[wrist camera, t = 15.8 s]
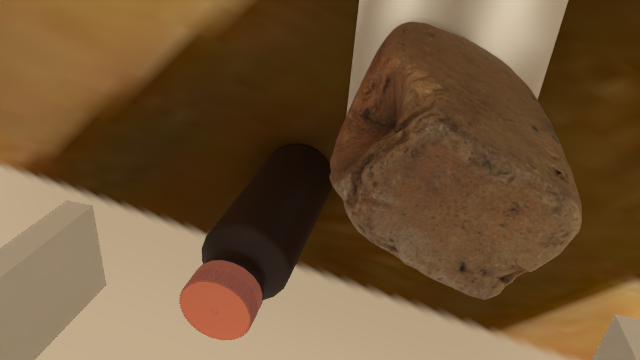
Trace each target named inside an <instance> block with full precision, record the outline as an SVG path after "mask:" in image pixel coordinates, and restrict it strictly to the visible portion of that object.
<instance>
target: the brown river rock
mask: <svg viewBox="0 0 640 360" xmlns="http://www.w3.org/2000/svg"><path fill="white" fill-rule="evenodd" d="M330 168H331V173H330V176H329V178H330V181H331V183H332V186H333V188H334V189H335V190H336V192H337V193H338V194H339V196H340V197H341V198H342V199H343V201H344V208H345V211H346V213H347V215H348V217H349V218H350V220H351V222H352V224H353V225H354V227H355V228H356V229H357V230H358V232H359V233H361V234H362V235H363V236H364V237H366V238H367V239H368V240H370V241H371V242H372V243H374V244H376V245H377V246H379V247H381V248H382V249H384V250H386V251H388V252H390V253H391V254H393V255H395V256H396V257H398V258H399V259H401V260H402V261H403V262H404V263H405V264H406V265H409V266H411V267H413V268H415V269H417V270H418V271H420V272H421V273H422V274H424V275H426V276H428V277H430V278H432V279H433V280H436V281H438V282H440V283H443V284H445V285H447V286H450V287H452V288H454V289H456V290H458V291H461V292H463V293H465V294H467V295H470V296H473V297H477V298H480V299H483V300H486V299H489V298H492V297H494V296H496V295H498V294H499V293H500V292H501V291H502V290H503V289H504V288H505V286H507V285H508V284H510V283H511V282H513V280H514V279H515V278H516V277H517V276H519V275H521V274H523V273H525V272H527V271H529V272H531V271H533V270H535V269H537V268H539V267H540V266H542V265H543V264H545V263H547V262H548V261H550V260H551V259H553V258H555V257H556V256H558V255H559V254H560V253H561V252H562V251H563V250H564V248H565V247H566V246H567V245H568V244H569V243H570V241H571V240H572V239H573V238H574V237H575V235H576V234H577V233H578V232H579V230H580V226H581V222H582V207H581V202H580V198H579V194H578V191H577V188H576V184H575V181H574V178H573V174H572V170H571V168H570V166H569V164H568V162H567V160H566V157H565V154H564V151H563V149H562V147H561V145H560V142H559V139H558V137H557V135H556V133H555V132H554V130H553V127H552V124H551V122H550V120H549V119H548V117H547V116H546V114H545V112H544V110H543V108H542V107H541V105H540V104H539V102H538V100H537V98H536V97H535V95H534V93H533V92H532V90H531V89H530V88H529V87H528V85H527V84H526V83H525V82H524V81H523V80H522V79H521V78H520V77H519V76H518V75H517V74H516V73H515V72H514V71H513V70H512V69H511V67H509V66H508V65H507V64H505V63H504V62H503V61H502V60H500V59H499V58H497V57H496V56H494V55H493V54H491V53H490V52H488V51H487V50H485V49H483V48H481V47H480V46H478V45H477V44H475V43H473V42H471V41H469V40H467V39H466V38H464V37H462V36H458V35H456V34H452V33H450V32H447V31H445V30H442V29H439V28H436V27H433V26H431V25H430V24H426V23H419V22H407V23H403V24H401V25H399V26H397V27H396V28H395V29H394V30H393V31H392V32H391V33H390V34H389V35H388V36H387V37H386V39H385V40H384V42H383V43H382V44H381V46H380V47H379V49H378V51H377V52H376V54H375V56H374V58H373V60H372V62H371V64H370V66H369V68H368V70H367V72H366V74H365V76H364V78H363V80H362V82H361V84H360V87H359V89H358V91H357V93H356V95H355V97H354V99H353V102H352V104H351V107H350V108H349V111H348V113H347V116H346V118H345V121H344V123H343V125H342V127H341V129H340V132H339V135H338V137H337V140H336V143H335V147H334V151H333V154H332V157H331V160H330Z"/></svg>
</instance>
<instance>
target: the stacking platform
mask: <svg viewBox="0 0 640 360" xmlns="http://www.w3.org/2000/svg"><path fill="white" fill-rule="evenodd" d="M567 3H568V0H359V8H358V17H357V26H356V34H355V43H354V52H353V61H352V70H351V79H350V88H349V97H348V106H347V113H348V111H349V108H350V107H351V104H352V102H353V99H354V97H355V95H356V93H357V91H358V89H359V87H360V84H361V82H362V80H363V78H364V76H365V74H366V72H367V70H368V68H369V66H370V64H371V62H372V60H373V58H374V56H375V54H376V52H377V51H378V49H379V47H380V46H381V44H382V43H383V42H384V40H385V39H386V37H387V36H388V35H389V34H390V33H391V32H392V31H393V30H394V29H395V28H396V27H397V26H399V25H401V24H403V23H407V22H419V23H426V24H430V25H431V26H433V27H436V28H439V29H442V30H445V31H447V32H450V33H452V34H456V35H458V36H462V37H464V38H466V39H467V40H469V41H471V42H473V43H475V44H477V45H478V46H480V47H481V48H483V49H485V50H487V51H488V52H490V53H491V54H493V55H494V56H496V57H497V58H499V59H500V60H502V61H503V62H504V63H505V64H507V65H508V66H509V67H511V69H512V70H513V71H514V72H515V73H516V74H517V75H518V76H519V77H520V78H521V79H522V80H523V81H524V82H525V83H526V84H527V85H528V87H529V88H530V89H531V90H532V92H533V93H534V95H535V97H536V98H537V99H538V96H539V93H540V90H541V86H542V83H543V80H544V77H545V74H546V70H547V67H548V64H549V61H550V58H551V54H552V51H553V48H554V45H555V42H556V38H557V35H558V32H559V29H560V26H561V22H562V19H563V16H564V13H565V9H566V6H567ZM346 116H347V114H346Z"/></svg>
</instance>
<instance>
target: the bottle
mask: <svg viewBox="0 0 640 360" xmlns="http://www.w3.org/2000/svg"><path fill="white" fill-rule="evenodd" d="M330 173H331V168H330V166H329V164H328V163H327V161H326V159H325V158H324V157H323V156H322V155H321V154H320V153H319V152H318V151H316V150H314V149H312V148H310V147H308V146H304V145H298V144H295V145H287V146H284V147H282V148H280V149H278V150H277V151H276V152H275V153H274V154H273V155H272V156H271V157H270V158H269V160H268V161H267V162H266V163H265V164H264V166H263V167H262V168H261V169H260V171H259V172H258V173H257V174H256V176H255V177H254V178H253V179H252V181H251V182H250V183H249V184H248V185H247V187H246V188H245V189H244V190H243V192H242V193H241V194H240V195H239V197H238V198H237V199H236V200H235V201H234V203H233V204H232V205H231V206H230V208H229V209H228V210H227V211H226V213H225V214H224V215H223V216H222V218H221V219H220V220H219V221H218V222H217V224H216V225H215V226H214V227H213V229H212V230H211V231H210V232H209V234H208V235H207V236H206V238H205V241H204V244H203V247H202V261H203V265H202V266H201V267H200V268H199V269H198V270H197V271H196V272H195V274H194V275H193V276H192V278H191V279H190V280H189V282H188V283H187V284H186V286H185V287H184V288H183V290H182V292H181V295H180V300H179V301H180V304H181V305H180V306H181V309H182V312H183V314H184V316H185V318H186V319H187V320H188V322H189V323H190V324H191V325H192V326H193V327H194V328H196V329H197V330H198V331H199V332H201V333H203V334H205V335H207V336H209V337H212V338H216V339H219V340H232V339H235V338H236V339H237V338H239V337H242V335H244V334H246V333H247V331H248V330H249V328H250V327H251V325H252V323H253V321H254V319H255V317H256V315H257V312H258V310H259V308H260V306H261V304H262V301H263V300H265V299H267V298H271V297H274V296H275V295H276V294H277V293H279V292H280V291H281V290H282V289H284V287H285V285H286V283H287V281H288V279H289V277H290V275H291V273H292V271H293V269H294V267H295V265H296V263H297V260H298V258H299V256H300V254H301V252H302V250H303V248H304V245H305V243H306V241H307V239H308V237H309V235H310V233H311V230H312V228H313V226H314V224H315V222H316V220H317V217H318V215H319V213H320V211H321V209H322V207H323V205H324V202H325V200H326V198H327V196H328V194H329V192H330V190H331V187H332V183H331V181H330V178H329V176H330Z"/></svg>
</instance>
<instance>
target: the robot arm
mask: <svg viewBox="0 0 640 360" xmlns="http://www.w3.org/2000/svg"><path fill="white" fill-rule="evenodd" d="M105 286H106V282H105V276H104V270H103V265H102V258H101V253H100V247H99V241H98V235H97V229H96V224H95V218H94V212H93V206H90V205H85V204H81V203H76V202H71V201H66V202H65V203H63V204H62V205H60V206H59V207H58V208H56V209H55V210H53V211H52V212H51V213H49V214H48V215H46V216H45V217H43V218H42V219H41V220H39V221H38V222H36V223H35V224H34V225H33V226H31V227H29V228H28V229H27V230H25V231H24V232H22V233H21V234H20V235H18V236H17V237H15V238H14V239H12V240H11V241H10V242H8V243H7V244H5V245H4V246H3V247H1V248H0V360H35V359H36V358H37V357H38V356H39V355H40V353H41V352H42V351H43V350H44V349H45V348H46V347H47V346H48V345H49V344H50V343H51V342H52V341H53V340H54V339H55V338H56V337H57V336H58V335H59V334H60V333H61V332H62V331H63V329H65V327H66V326H67V325H68V324H69V323H70V322H71V321H72V320H73V319H74V318H75V317H76V316H77V315H78V314H79V313H80V311H82V310H83V309H84V307H86V305H87V304H88V303H89V302H90V301H91V300H92V299H93V298H94V297H95V296H96V295H97V294H98V293H99V292H100V291H101V290H102V289H103V288H104V287H105ZM592 360H640V320H639V319H634V318H629V317H625V316H620V315H615V316H614V318H613V320H612V322H611V324H610V326H609V328H608V330H607V332H606V334H605V335H604V337H603V339H602V341H601V343H600V345H599V347H598V349H597V351H596V353H595V355H594V357H593V358H592Z"/></svg>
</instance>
